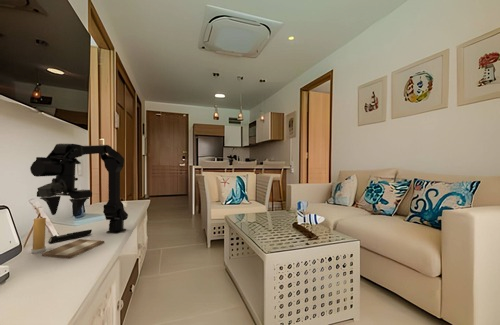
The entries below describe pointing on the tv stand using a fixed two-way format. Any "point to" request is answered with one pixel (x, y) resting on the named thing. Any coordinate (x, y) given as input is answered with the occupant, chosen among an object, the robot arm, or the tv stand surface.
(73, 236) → the electric trimmer
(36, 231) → the orange rounded post
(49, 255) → the subfloor panel
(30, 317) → the tv stand surface
